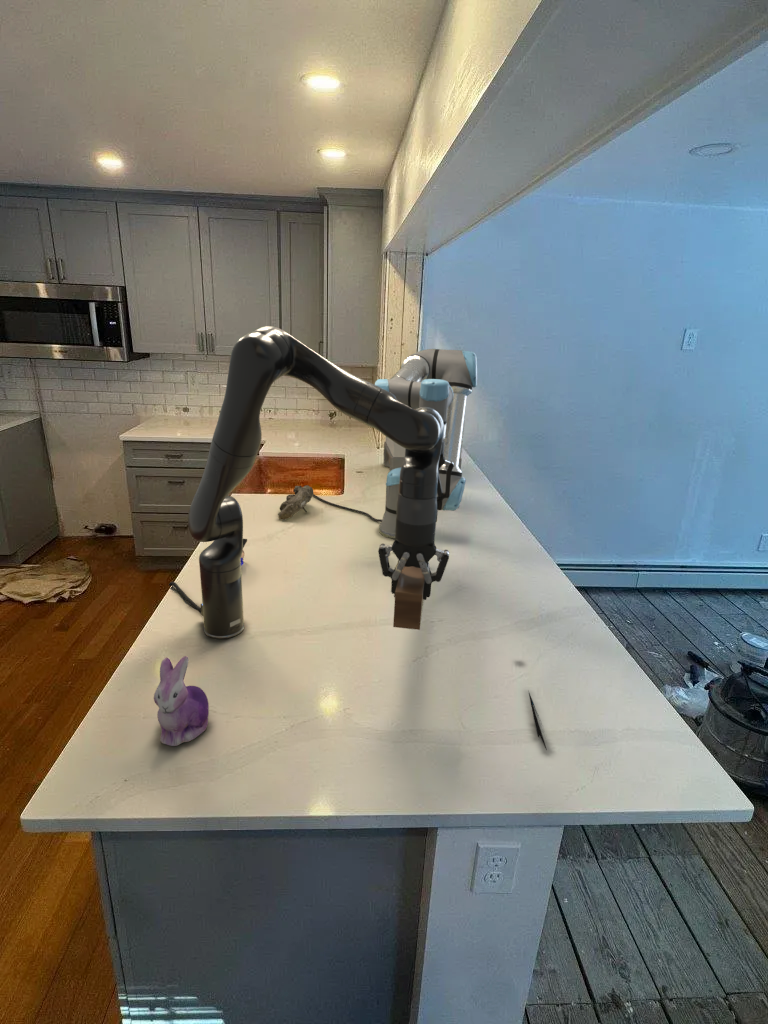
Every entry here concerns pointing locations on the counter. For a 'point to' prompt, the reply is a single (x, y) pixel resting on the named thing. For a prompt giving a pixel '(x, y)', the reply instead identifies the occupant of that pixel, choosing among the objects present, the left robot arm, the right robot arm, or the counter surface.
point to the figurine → (179, 705)
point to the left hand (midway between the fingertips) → (410, 596)
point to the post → (409, 598)
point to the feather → (536, 721)
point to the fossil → (295, 502)
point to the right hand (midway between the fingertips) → (425, 519)
